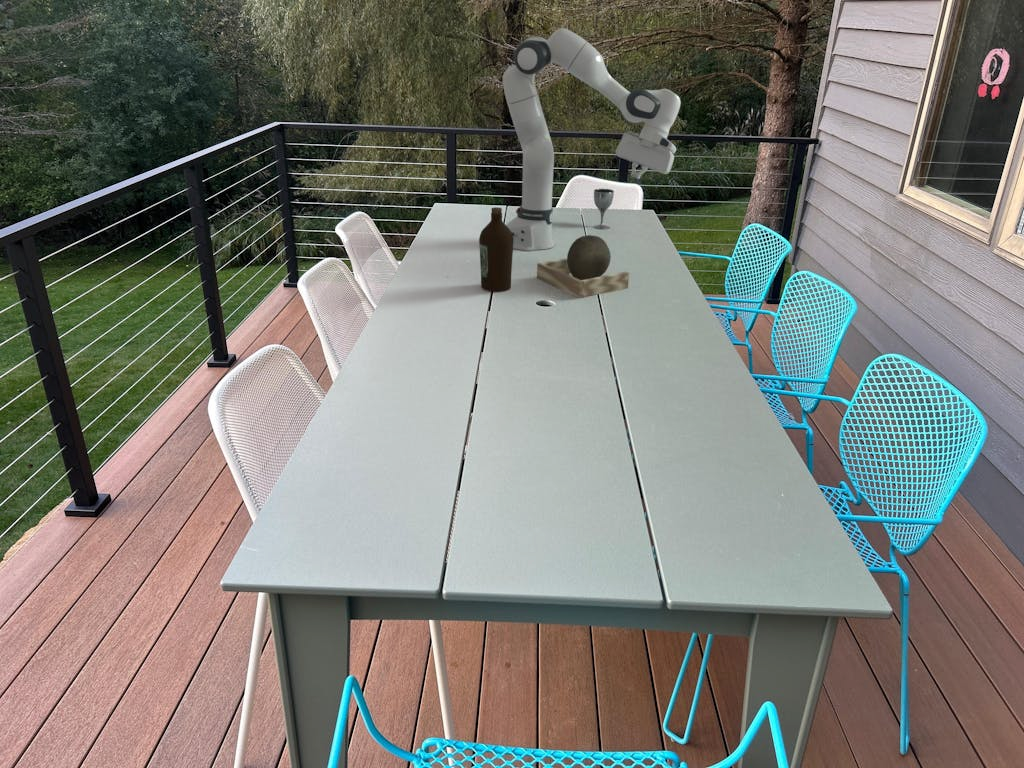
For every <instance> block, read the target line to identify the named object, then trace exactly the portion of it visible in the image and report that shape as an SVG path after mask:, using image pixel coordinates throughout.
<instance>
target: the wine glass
mask: <svg viewBox="0 0 1024 768" xmlns="http://www.w3.org/2000/svg"><path fill="white" fill-rule="evenodd" d="M614 192H615V191H614V190H613V189H610V188H595V189H594V190H593V202H594V205H595V207H596V209H598V211H599V213H600V224H597V225H596V224H595V225H593V226H592V228H593V229H597V230H610V229H611V227H610V226H608V225H605V224H603V222H604V216H605V213H606V211H607V210H608V209H609V208H610V207H611V205H612V204H613V200H614Z"/></svg>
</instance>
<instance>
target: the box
mask: <svg viewBox="0 0 1024 768" xmlns="http://www.w3.org/2000/svg"><path fill="white" fill-rule="evenodd" d="M536 266H537V267H536V279H538V280H540V281H542V282H544V283H546V284H548V285H551V286H553V287H556V288H557V289H560V290H562V291H564V292H566V293H567V294H570V295H572V296H574V295H575V297H576V298H579V299H581V297H582V298H586V297H590V296H595V295H600V294H605V293H606V294H607V293H610V292H615V291H620V290H623V289H628V288H629V280H630V279H629V278H630V272H628V271H622V272H617V273H616V272H615V273H612V274H606V275H601V276H600V277H595V278H590V279H585V280H580V279H577V278H575V277H573V276H572V275H571V274H570V271H569V268H568V264H567V257H566V258H561V259H555V260H550V261H544V262H539V263H537V265H536Z"/></svg>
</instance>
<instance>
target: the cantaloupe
mask: <svg viewBox="0 0 1024 768" xmlns="http://www.w3.org/2000/svg"><path fill="white" fill-rule="evenodd" d="M566 258H567V264H568V268H569V271H570V273H571V274H570V275H571V276H573V277H575V278H577V279H580V280H585V279H590V278H595V277H601V276H604V274H605V273H606V272H607V270H608V268H609V266H610V263H611V259H612V258H611V251H610V248H609V246H608V244H607V243H606V241H605V240H604V239H603V238H602V237H599V236H596V235H590V234H587V235H582V236H580V237H578V238H576V239H575V240H574V241H573V242H572V243H571V246H570V247H569V249H568V252H567V256H566Z"/></svg>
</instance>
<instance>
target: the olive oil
mask: <svg viewBox="0 0 1024 768" xmlns="http://www.w3.org/2000/svg"><path fill="white" fill-rule="evenodd" d="M502 211H503V209H502V207H492V208H491V213H490V222H488V223H487V225H486V226H484V227H483V229H482V230H481V232H480V235H479V239H478V244H479V245H478V247H479V259H480V261H479V262H480V263H479V264H480V287H481V289H482V290H485V291H486V290H487V292H491V291H492V292H491V293H497V292H499V293H501V292H506V291H508V290H510V289H511V287H512V273H513V272H512V271H513V270H512V268H513V267H512V266H513V257H514V256H513V254H514V248H513V243H514V239H513V235H512V232H511V231H510V229H509V228H508V227H507V226H506V224H505V222H504V221H503V213H502Z"/></svg>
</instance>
